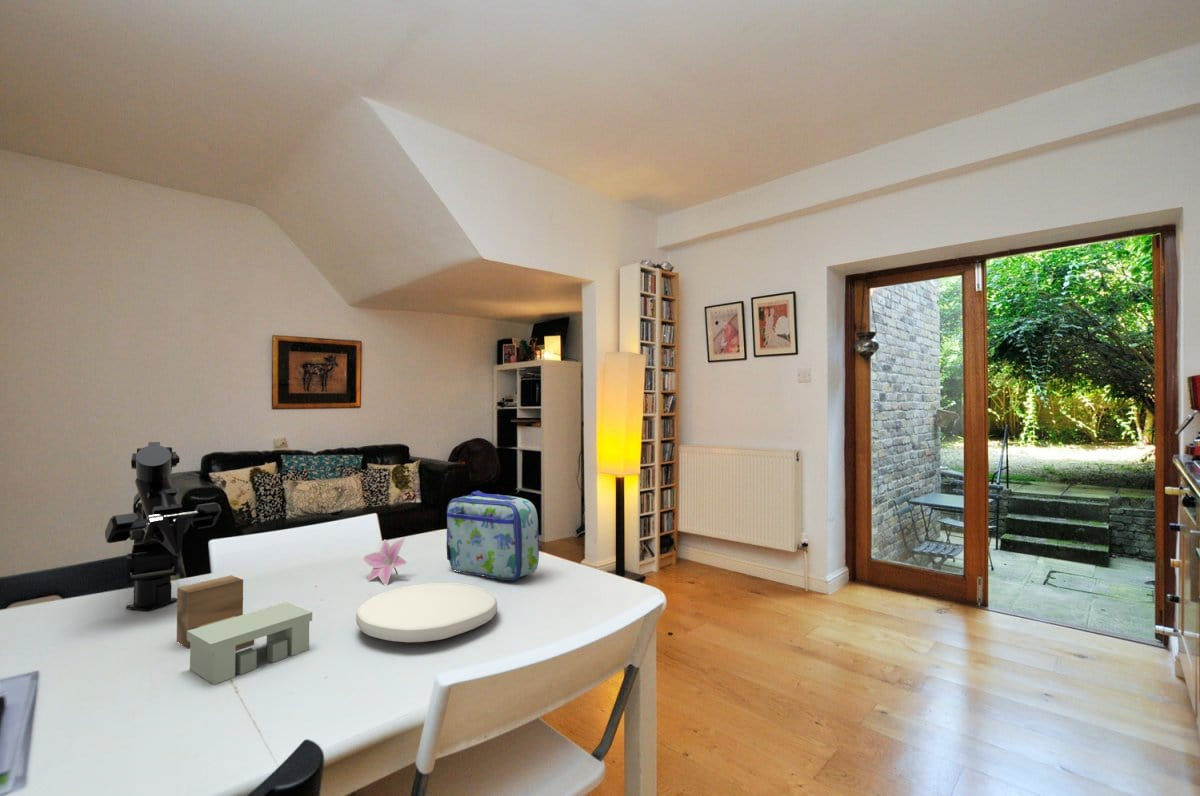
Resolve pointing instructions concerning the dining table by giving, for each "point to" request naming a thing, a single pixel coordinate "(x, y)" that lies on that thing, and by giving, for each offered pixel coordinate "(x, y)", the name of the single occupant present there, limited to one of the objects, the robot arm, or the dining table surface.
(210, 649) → the green miniature desk
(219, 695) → the dining table surface
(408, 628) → the cream round disc
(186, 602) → the rectangular block
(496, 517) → the lunch box
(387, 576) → the lily
